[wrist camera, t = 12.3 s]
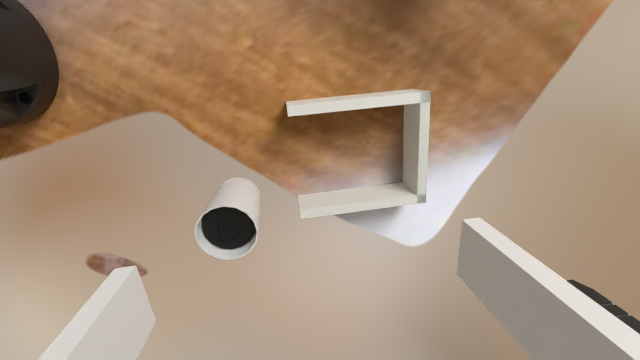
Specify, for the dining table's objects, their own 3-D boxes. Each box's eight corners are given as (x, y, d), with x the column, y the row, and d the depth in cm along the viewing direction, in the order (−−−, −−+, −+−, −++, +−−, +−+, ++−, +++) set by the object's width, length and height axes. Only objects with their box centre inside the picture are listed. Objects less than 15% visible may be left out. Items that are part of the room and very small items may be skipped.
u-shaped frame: (285, 101, 37) (286, 105, 33) (412, 89, 39) (430, 91, 34) (298, 203, 42) (300, 219, 38) (410, 188, 44) (425, 202, 39)
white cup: (265, 217, 43) (260, 257, 33) (217, 220, 42) (198, 262, 32) (261, 173, 40) (255, 203, 31) (210, 175, 39) (189, 207, 30)
